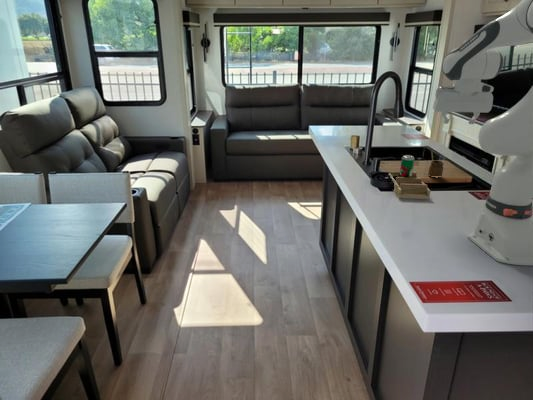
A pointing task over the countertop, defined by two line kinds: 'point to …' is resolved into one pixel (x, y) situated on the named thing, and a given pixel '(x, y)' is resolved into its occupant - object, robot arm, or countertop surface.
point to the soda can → (406, 166)
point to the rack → (409, 186)
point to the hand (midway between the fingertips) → (458, 123)
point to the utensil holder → (436, 167)
